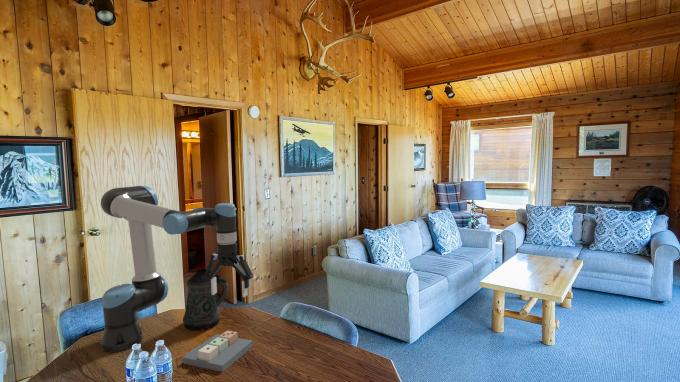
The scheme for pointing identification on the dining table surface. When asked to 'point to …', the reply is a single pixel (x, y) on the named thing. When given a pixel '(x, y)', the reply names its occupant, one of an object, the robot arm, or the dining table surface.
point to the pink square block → (229, 337)
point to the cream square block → (208, 353)
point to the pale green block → (220, 344)
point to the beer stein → (202, 302)
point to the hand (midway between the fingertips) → (229, 294)
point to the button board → (219, 355)
